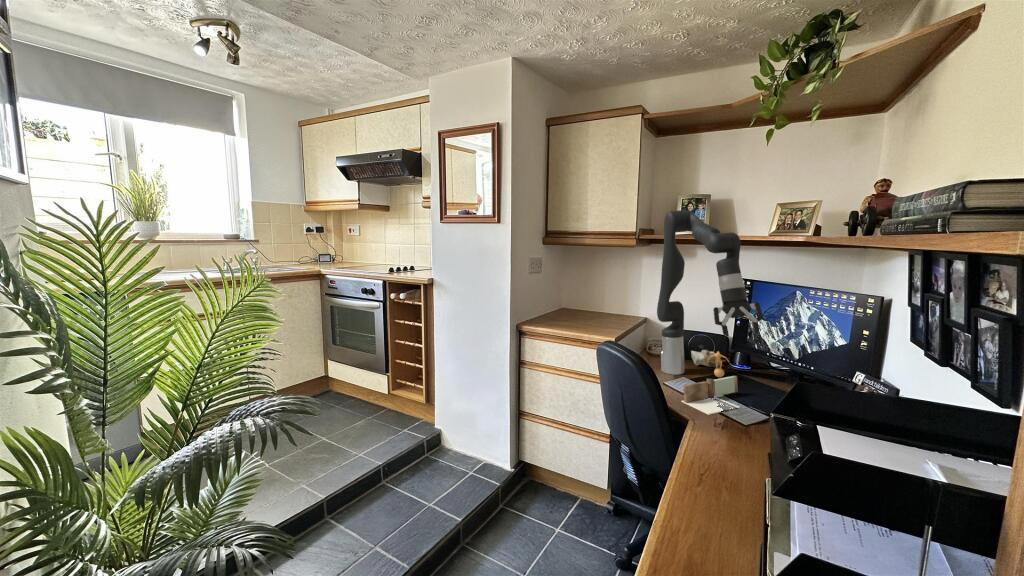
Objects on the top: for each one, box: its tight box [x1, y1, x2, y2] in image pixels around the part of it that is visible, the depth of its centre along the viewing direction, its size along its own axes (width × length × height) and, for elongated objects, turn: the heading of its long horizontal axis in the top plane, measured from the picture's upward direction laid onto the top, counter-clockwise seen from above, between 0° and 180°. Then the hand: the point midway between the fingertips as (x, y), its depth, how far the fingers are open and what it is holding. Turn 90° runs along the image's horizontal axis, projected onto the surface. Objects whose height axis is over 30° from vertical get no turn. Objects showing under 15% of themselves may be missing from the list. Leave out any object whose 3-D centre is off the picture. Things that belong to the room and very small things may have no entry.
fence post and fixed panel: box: [683, 378, 715, 403], centre depth 147 cm, size 13×2×7 cm, turn 106°
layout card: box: [681, 398, 741, 416], centre depth 143 cm, size 14×14×1 cm
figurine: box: [708, 350, 730, 378], centre depth 170 cm, size 8×6×12 cm
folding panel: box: [713, 375, 739, 397], centre depth 150 cm, size 11×2×6 cm, turn 106°
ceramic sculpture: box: [690, 348, 727, 368], centre depth 188 cm, size 11×9×15 cm
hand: (741, 335), depth 132 cm, fingers open, 8 cm apart
